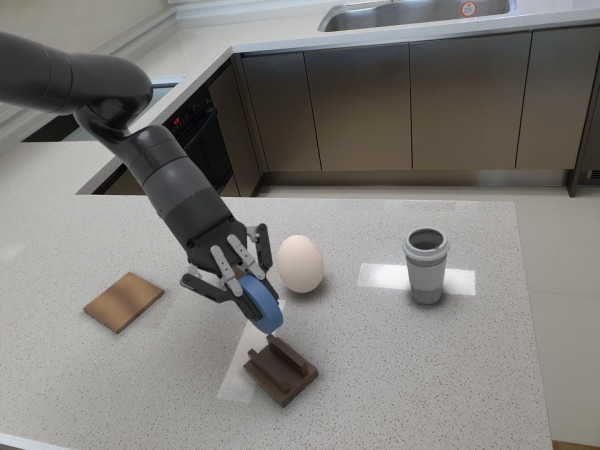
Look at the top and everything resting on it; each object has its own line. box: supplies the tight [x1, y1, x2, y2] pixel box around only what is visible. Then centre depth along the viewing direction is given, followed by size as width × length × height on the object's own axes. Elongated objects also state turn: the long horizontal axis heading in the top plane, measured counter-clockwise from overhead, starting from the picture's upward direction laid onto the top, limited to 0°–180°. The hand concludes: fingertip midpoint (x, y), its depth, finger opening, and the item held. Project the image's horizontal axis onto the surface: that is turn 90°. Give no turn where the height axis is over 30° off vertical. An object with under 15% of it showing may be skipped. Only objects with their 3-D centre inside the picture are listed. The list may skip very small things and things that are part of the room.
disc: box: [237, 275, 284, 335], centre depth 59 cm, size 2×8×8 cm, turn 42°
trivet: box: [82, 271, 165, 334], centre depth 86 cm, size 11×11×1 cm
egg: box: [276, 234, 325, 294], centre depth 78 cm, size 8×8×11 cm
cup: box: [401, 225, 451, 305], centre depth 72 cm, size 7×7×12 cm
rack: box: [242, 333, 320, 409], centre depth 67 cm, size 7×9×4 cm
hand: (267, 312), depth 58 cm, fingers closed on disc, 2 cm apart
